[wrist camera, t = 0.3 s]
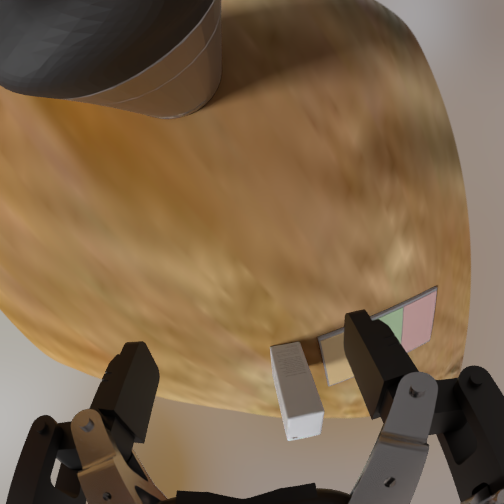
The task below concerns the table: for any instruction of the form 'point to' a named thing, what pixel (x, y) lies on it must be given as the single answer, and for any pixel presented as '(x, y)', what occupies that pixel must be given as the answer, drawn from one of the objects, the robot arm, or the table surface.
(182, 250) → the table surface
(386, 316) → the multicoloured flat board
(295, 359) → the skincare box
